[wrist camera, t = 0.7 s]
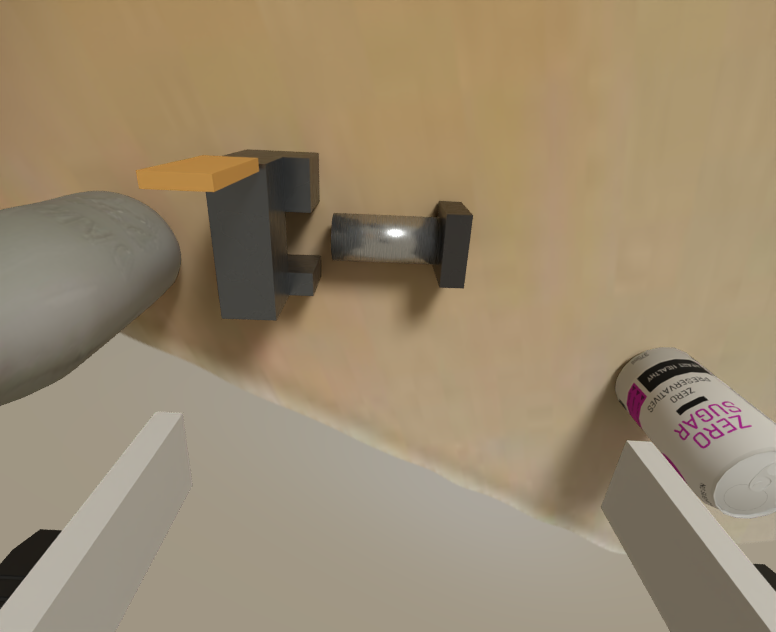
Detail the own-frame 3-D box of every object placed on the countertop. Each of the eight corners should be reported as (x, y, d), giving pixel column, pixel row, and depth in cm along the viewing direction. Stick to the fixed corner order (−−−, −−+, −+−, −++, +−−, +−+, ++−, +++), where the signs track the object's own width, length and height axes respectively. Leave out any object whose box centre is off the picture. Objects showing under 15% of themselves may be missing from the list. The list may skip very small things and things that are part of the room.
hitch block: (246, 149, 37) (201, 161, 27) (318, 152, 37) (297, 165, 28) (257, 273, 41) (221, 318, 32) (321, 276, 41) (303, 321, 32)
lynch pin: (336, 196, 38) (329, 208, 33) (461, 202, 38) (472, 215, 33) (336, 262, 41) (329, 283, 36) (453, 267, 41) (463, 288, 36)
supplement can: (657, 417, 49) (763, 535, 35) (596, 393, 47) (682, 505, 34) (707, 360, 46) (844, 464, 32) (643, 332, 44) (759, 429, 31)
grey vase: (214, 224, 39) (-98, 426, 14) (169, 309, 43) (-147, 596, 17) (107, 157, 37) (-513, 254, 11) (68, 253, 40) (-473, 492, 15)
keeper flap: (204, 168, 27) (202, 155, 27) (259, 171, 27) (258, 157, 27) (139, 188, 20) (135, 170, 20) (214, 191, 20) (211, 173, 20)
